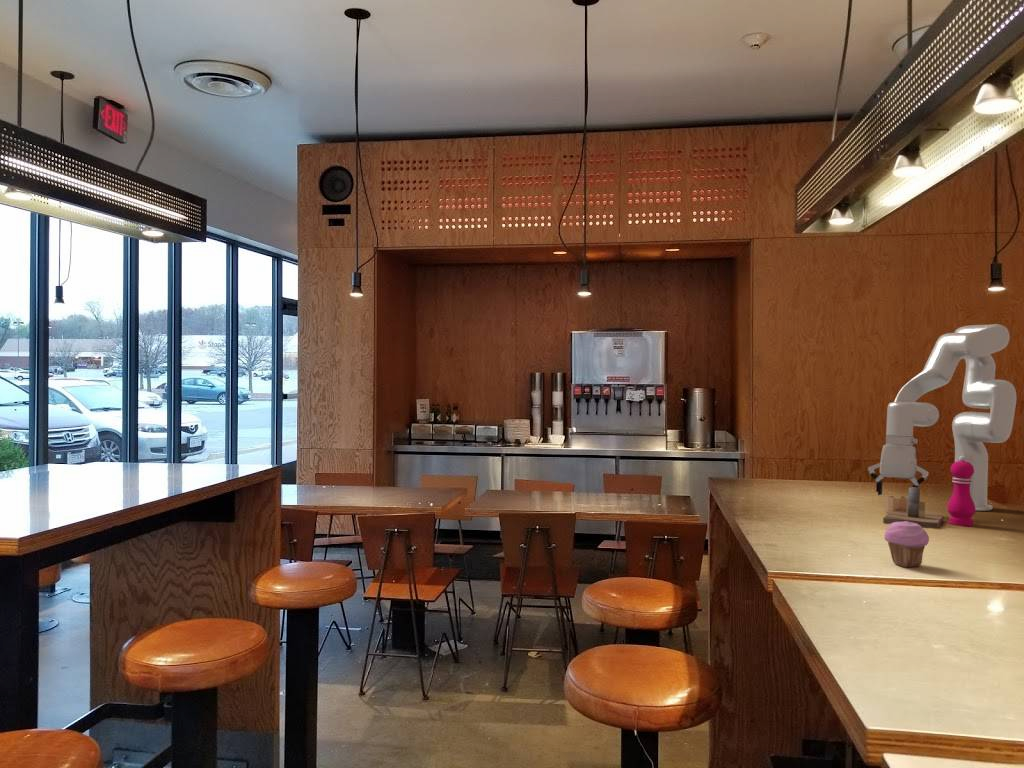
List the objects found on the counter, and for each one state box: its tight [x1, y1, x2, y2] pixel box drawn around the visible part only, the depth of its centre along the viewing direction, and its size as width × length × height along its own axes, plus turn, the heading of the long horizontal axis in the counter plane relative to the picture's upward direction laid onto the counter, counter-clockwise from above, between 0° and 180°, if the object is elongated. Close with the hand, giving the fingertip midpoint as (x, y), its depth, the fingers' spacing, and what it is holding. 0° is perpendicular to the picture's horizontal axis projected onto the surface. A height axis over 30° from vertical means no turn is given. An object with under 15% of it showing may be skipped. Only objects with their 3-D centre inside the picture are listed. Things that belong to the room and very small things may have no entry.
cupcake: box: [884, 521, 930, 568], centre depth 183 cm, size 9×9×10 cm
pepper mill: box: [946, 456, 977, 527], centre depth 237 cm, size 7×7×20 cm
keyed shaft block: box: [882, 486, 944, 529], centre depth 240 cm, size 16×14×10 cm
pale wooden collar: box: [884, 495, 908, 514], centre depth 254 cm, size 7×7×5 cm
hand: (896, 496), depth 254 cm, fingers open, 9 cm apart
